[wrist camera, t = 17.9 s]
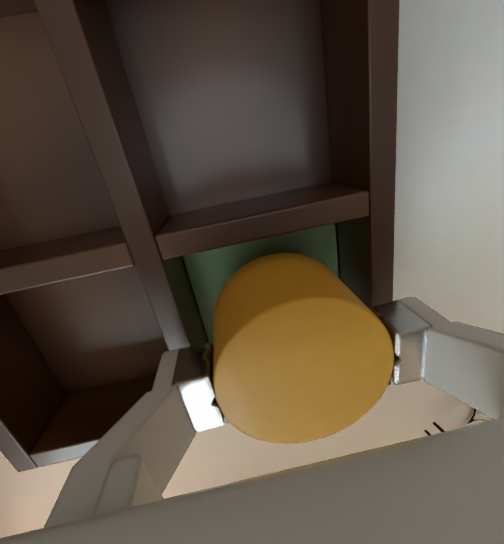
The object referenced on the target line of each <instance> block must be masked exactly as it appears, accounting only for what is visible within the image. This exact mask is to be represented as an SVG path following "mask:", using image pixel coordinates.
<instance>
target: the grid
mask: <svg viewBox="0 0 504 544" xmlns="http://www.w3.org/2000/svg"><path fill="white" fill-rule="evenodd" d="M398 33H399V0H0V451H1V452H2V453H3V454H4V456H5V457H6V458H7V459H8V460H9V461H10V463H11V464H12V465H13V466H14V467H15V469H16V470H17V471H18V472H21V471H25V470H29V469H34V468H37V467H42V466H47V465H51V464H55V463H59V462H64V461H68V460H72V459H76V458H81V457H83V456H84V455H85V454H86V453H87V452H88V451H89V450H90V449H91V448H92V447H93V446H94V445H95V444H96V443H97V442H98V441H99V440H100V439H101V438H102V437H103V436H104V435H105V434H106V433H107V432H108V431H109V430H110V429H111V428H112V427H113V426H114V425H115V424H116V423H117V422H118V421H119V420H120V419H121V418H122V417H123V416H124V415H125V414H126V413H127V412H128V411H129V410H130V409H131V408H132V407H133V406H134V405H135V404H136V403H137V402H138V400H139V399H140V398H141V397H142V396H143V395H144V394H145V393H146V392H150V391H152V388H153V384H154V381H155V377H156V374H157V370H158V367H159V363H160V360H161V356H162V354H163V353H164V352H166V351H171V350H175V349H180V348H185V347H189V346H194V345H199V344H204V343H209V342H211V343H212V344H213V336H214V309H215V304H216V300H217V297H218V295H219V293H220V291H221V289H222V287H223V286H224V284H225V283H226V282H227V280H228V279H229V278H230V277H231V276H232V275H233V274H234V273H235V272H236V271H237V270H238V269H240V268H241V267H242V266H244V265H245V264H247V263H249V262H251V261H252V260H255V259H257V258H260V257H262V256H266V255H270V254H276V253H297V254H302V255H306V256H309V257H311V258H314V259H316V260H318V261H319V262H321V263H323V264H324V265H325V266H326V267H328V268H329V269H330V270H331V271H332V272H333V273H334V274H335V275H336V276H337V277H338V278H339V279H340V280H341V281H342V282H343V283H344V284H345V285H346V286H347V287H348V288H349V289H350V290H351V291H352V292H353V293H354V294H355V295H356V296H357V297H358V298H359V299H360V300H361V301H362V302H363V303H364V304H365V305H366V306H367V307H371V306H376V305H380V304H384V303H388V302H393V259H394V214H395V169H396V124H397V79H398ZM390 384H391V379H390V381H389V383H388V385H390ZM224 423H229V421H228V420H227V419H226V418H225V417H224Z"/></svg>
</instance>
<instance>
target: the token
mask: <svg viewBox="0 0 504 544" xmlns="http://www.w3.org/2000/svg"><path fill="white" fill-rule="evenodd" d="M393 364H394V349H393V344H392V340H391V337H390V335H389V333H388V330H387V329H386V327H385V326H384V324H383V323H382V322H381V321H380V320H379V318H378V317H377V316H376V315H375V314H374V313H373V312H372V311H371V310H370V309H369V308H368V307H367V306H366V305H365V304H364V303H363V302H362V301H361V300H360V299H359V298H358V297H357V296H356V295H355V294H354V293H353V292H352V291H351V290H350V289H349V288H348V287H347V286H346V285H345V284H344V283H343V282H342V281H341V280H340V279H339V278H338V277H337V276H336V275H335V274H334V273H333V272H332V271H331V270H330V269H329V268H328V267H326V266H325V265H324V264H323V263H321V262H319V261H318V260H316V259H314V258H311V257H309V256H306V255H302V254H297V253H276V254H270V255H266V256H262V257H260V258H257V259H255V260H252V261H251V262H249V263H247V264H245V265H244V266H242V267H241V268H240V269H238V270H237V271H236V272H235V273H234V274H233V275H232V276H231V277H230V278H229V279H228V280H227V282H226V283H225V284H224V286H223V287H222V289H221V291H220V293H219V295H218V297H217V300H216V304H215V309H214V336H213V389H214V393H215V400H216V402H217V404H218V406H219V408H220V410H221V412H222V413H223V415H224V417H225V418H226V419H227V420H228V421H229V422H230V423H231V424H232V425H233V426H234V427H236V428H237V429H238V430H240V431H242V432H243V433H245V434H247V435H249V436H251V437H254V438H257V439H260V440H263V441H268V442H274V443H301V442H307V441H313V440H317V439H320V438H324V437H327V436H329V435H332V434H334V433H336V432H339V431H341V430H343V429H345V428H346V427H348V426H350V425H351V424H353V423H354V422H356V421H357V420H358V419H360V418H361V417H362V416H364V415H365V414H366V413H367V412H368V411H369V410H370V409H371V408H372V407H373V406H374V405H375V404H376V403H377V401H378V400H379V398H380V397H381V396H382V394H383V393H384V391H385V389H386V387H387V385H388V383H389V381H390V378H391V375H392V371H393Z"/></svg>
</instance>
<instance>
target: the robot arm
mask: <svg viewBox="0 0 504 544" xmlns="http://www.w3.org/2000/svg"><path fill="white" fill-rule="evenodd" d="M368 308H369V309H370V310H371V311H372V312H373V313H374V314H375V315H376V316H377V317H378V318H379V320H380V321H381V322H382V323H383V324H384V326H385V327H386V329H387V330H388V333H389V335H390V337H391V340H392V344H393V349H394V364H393V371H392V375H391V378H390V379H391V380H392V381H393V383H394V384H395V385H399V384H404V383H409V382H413V381H418V380H423V379H424V381H425V382H427V383H429V384H431V385H433V386H434V387H436V388H438V389H440V390H442V391H444V392H445V393H447V394H449V395H451V396H453V397H455V398H456V399H458V400H460V401H462V402H464V403H465V404H467V405H469V406H471V407H473V408H475V409H476V410H478V411H480V412H482V413H484V414H486V415H487V416H489V417H491V418H493V419H495V420H492V421H488V422H484V423H479V424H475V425H471V426H467V427H463V428H459V429H455V430H450V431H446V432H442V433H438V434H434V435H430V436H425V437H421V438H417V439H413V440H409V441H405V442H400V443H396V444H392V445H388V446H384V447H380V448H375V449H371V450H367V451H363V452H359V453H354V454H350V455H346V456H342V457H338V458H334V459H329V460H325V461H321V462H317V463H313V464H309V465H304V466H300V467H296V468H292V469H288V470H283V471H279V472H275V473H271V474H267V475H263V476H258V477H254V478H250V479H246V480H242V481H238V482H233V483H229V484H225V485H221V486H217V487H213V488H208V489H204V490H200V491H196V492H192V493H188V494H183V495H179V496H175V497H171V498H167V499H163V497H162V493H163V491H164V490H165V488H166V486H167V484H168V483H169V481H170V479H171V477H172V475H173V474H174V472H175V470H176V468H177V467H178V465H179V463H180V461H181V459H182V458H183V456H184V454H185V452H186V451H187V449H188V447H189V445H190V443H191V442H192V440H193V438H194V436H195V433H196V432H200V431H204V430H208V429H211V428H215V427H219V426H223V425H224V415H223V413H222V412H221V410H220V408H219V406H218V404H217V402H216V400H215V393H214V389H213V344H212V343H211V342H209V343H204V344H199V345H194V346H189V347H185V348H180V349H175V350H171V351H166V352H164V353H163V354H162V356H161V360H160V363H159V367H158V370H157V374H156V377H155V381H154V384H153V388H152V391H150V392H146V393H145V394H144V395H143V396H142V397H141V398H140V399H139V400H138V402H137V403H136V404H135V405H134V406H133V407H132V408H131V409H130V410H129V411H128V412H127V413H126V414H125V415H124V416H123V417H122V418H121V419H120V420H119V421H118V422H117V423H116V424H115V425H114V426H113V427H112V428H111V429H110V430H109V431H108V432H107V433H106V434H105V435H104V436H103V437H102V438H101V439H100V440H99V441H98V442H97V443H96V444H95V445H94V446H93V447H92V448H91V449H90V450H89V451H88V452H87V453H86V454H85V455H84V456H83V457H82V458H81V459H80V460H79V461H78V462H77V463H76V464H75V465H74V466H73V467H72V469H71V471H70V473H69V475H68V478H67V480H66V482H65V484H64V486H63V488H62V490H61V492H60V494H59V497H58V499H57V501H56V503H55V505H54V507H53V509H52V511H51V513H50V516H49V518H48V520H47V522H46V524H45V526H44V528H42V529H38V530H33V531H29V532H25V533H21V534H17V535H13V536H8V537H4V538H0V544H504V334H502V333H498V332H494V331H490V330H486V329H483V328H479V327H475V326H471V325H467V324H463V323H460V322H453V323H451V322H450V321H448V320H447V319H445V318H444V317H442V316H441V315H440V314H438V313H437V312H435V311H434V310H433V309H431V308H430V307H428V306H427V305H426V304H424V303H423V302H421V301H420V300H419V299H417V298H416V297H407V298H403V299H399V300H396V301H393V302H388V303H384V304H380V305H376V306H371V307H368Z"/></svg>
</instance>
